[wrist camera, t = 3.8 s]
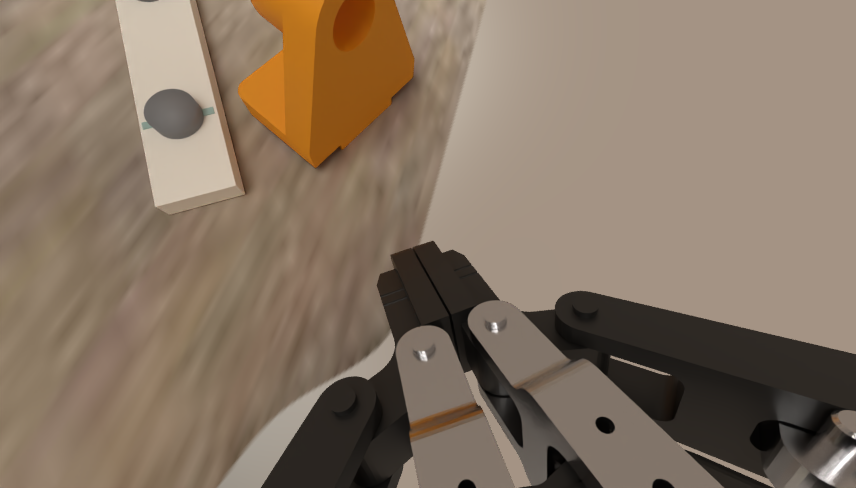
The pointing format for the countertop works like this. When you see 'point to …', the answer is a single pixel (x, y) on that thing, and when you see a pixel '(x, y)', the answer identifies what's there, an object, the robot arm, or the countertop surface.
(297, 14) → the bracket
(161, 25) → the board
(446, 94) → the countertop surface
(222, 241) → the countertop surface
